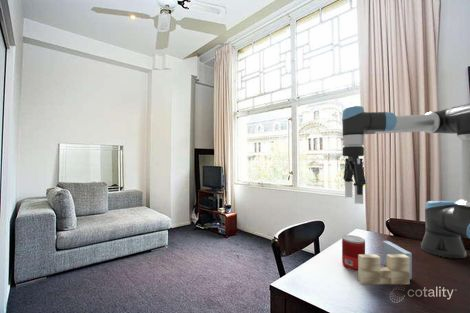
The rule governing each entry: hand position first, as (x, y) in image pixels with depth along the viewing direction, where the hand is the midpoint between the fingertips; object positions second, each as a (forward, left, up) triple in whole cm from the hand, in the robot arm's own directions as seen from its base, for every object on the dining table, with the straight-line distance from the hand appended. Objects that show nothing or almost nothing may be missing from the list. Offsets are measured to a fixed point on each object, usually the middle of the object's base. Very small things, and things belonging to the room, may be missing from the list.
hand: (353, 200), depth 90 cm
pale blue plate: (-14, +4, -26) cm, 30 cm away
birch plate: (-4, +12, -26) cm, 29 cm away
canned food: (0, 0, -26) cm, 26 cm away
